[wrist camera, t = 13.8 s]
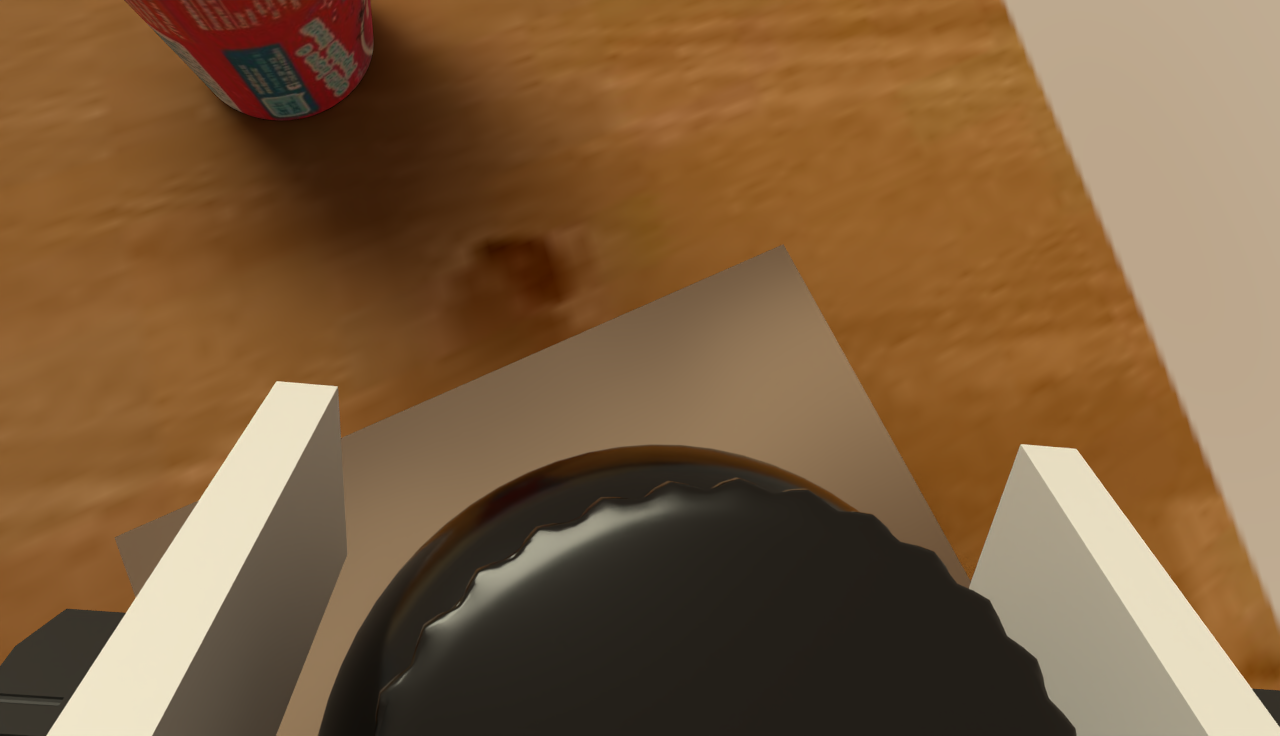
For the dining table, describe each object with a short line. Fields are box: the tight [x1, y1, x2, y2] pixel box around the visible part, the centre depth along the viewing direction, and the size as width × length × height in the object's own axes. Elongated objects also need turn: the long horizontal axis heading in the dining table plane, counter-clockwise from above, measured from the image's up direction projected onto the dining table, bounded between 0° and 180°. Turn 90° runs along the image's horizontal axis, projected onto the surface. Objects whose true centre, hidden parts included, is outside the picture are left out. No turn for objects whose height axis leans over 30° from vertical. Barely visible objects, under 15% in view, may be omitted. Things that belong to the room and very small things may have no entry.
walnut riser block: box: [115, 245, 971, 736], centre depth 20 cm, size 14×14×7 cm
